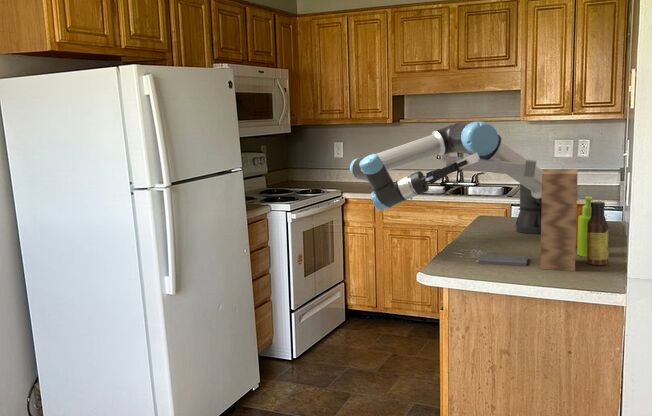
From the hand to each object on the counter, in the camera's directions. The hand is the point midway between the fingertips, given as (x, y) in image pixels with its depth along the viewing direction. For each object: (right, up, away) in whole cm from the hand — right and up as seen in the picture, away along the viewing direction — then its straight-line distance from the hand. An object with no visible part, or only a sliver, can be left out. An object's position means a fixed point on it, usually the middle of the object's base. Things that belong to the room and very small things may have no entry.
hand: (477, 156), depth 199 cm
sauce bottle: (+37, -35, -6) cm, 51 cm away
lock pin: (+4, -5, -1) cm, 6 cm away
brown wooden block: (+25, -35, -5) cm, 43 cm away
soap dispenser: (+38, -33, +6) cm, 51 cm away
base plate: (+9, -34, +2) cm, 36 cm away
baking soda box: (+43, -30, +20) cm, 56 cm away
